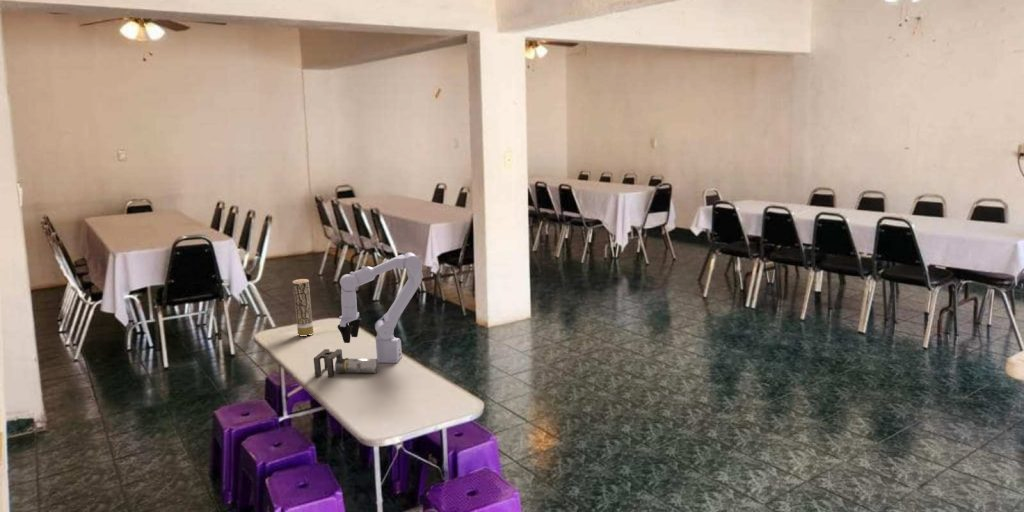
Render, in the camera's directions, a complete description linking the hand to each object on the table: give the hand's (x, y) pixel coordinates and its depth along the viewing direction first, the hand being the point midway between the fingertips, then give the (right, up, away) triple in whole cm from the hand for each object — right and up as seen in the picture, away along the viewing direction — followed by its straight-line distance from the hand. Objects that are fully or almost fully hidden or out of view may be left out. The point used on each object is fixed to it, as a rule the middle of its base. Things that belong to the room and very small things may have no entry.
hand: (350, 339), depth 277 cm
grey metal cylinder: (+4, -11, -8) cm, 15 cm away
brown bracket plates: (-7, -12, -7) cm, 15 cm away
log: (-30, -3, +44) cm, 53 cm away
